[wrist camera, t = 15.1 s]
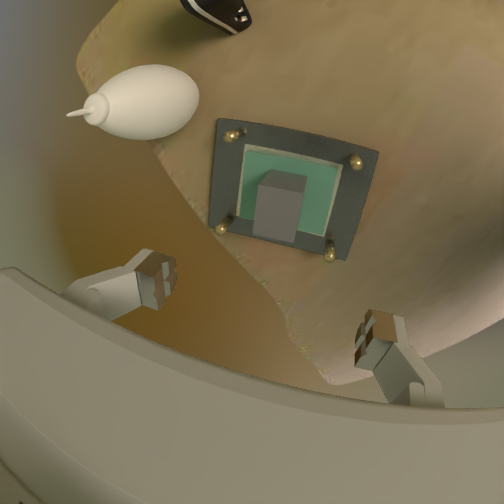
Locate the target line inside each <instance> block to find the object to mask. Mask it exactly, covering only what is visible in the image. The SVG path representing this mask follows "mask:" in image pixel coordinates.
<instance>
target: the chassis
mask: <svg viewBox="0 0 504 504" xmlns="http://www.w3.org/2000/svg"><path fill="white" fill-rule="evenodd" d="M247 150H250V151H257V152H263V153H269V154H275V155H281V156H287V157H292V158H297V159H303V160H308V161H313V162H317V163H322V164H327V165H331V166H336V167H338V171H337V176H336V180H335V185H334V190H333V194H332V198H331V203H330V207H329V211H328V216H327V220H326V224H325V228H324V232H323V235H319V234H314V233H310V232H305V231H301V230H297V231H296V235H295V239H294V243H291V242H286V241H281V240H277V239H272V238H268V237H263V236H258V235H254V234H252V233H253V225H254V220H249V219H244V218H239V214H240V203H241V193H242V182H243V172H244V161H245V152H246V151H247ZM378 154H379V152H378V151H376V150H372V149H369V148H366V147H362V146H359V145H355V144H352V143H348V142H345V141H341V140H337V139H333V138H329V137H325V136H321V135H317V134H312V133H308V132H303V131H298V130H294V129H289V128H283V127H278V126H272V125H267V124H261V123H254V122H247V121H240V120H233V119H225V118H218V124H217V133H216V143H215V153H214V164H213V175H212V187H211V200H210V214H209V227H212V228H215V233H216V234H217V235H219V236H221V235H223V234H224V233H225V232H226V231H229V232H233V233H237V234H241V235H245V236H249V237H253V238H257V239H262V240H266V241H270V242H274V243H278V244H282V245H286V246H290V247H294V248H298V249H302V250H306V251H310V252H314V253H317V254H321V255H324V259H325V261H326V262H327V263H332V262H333V261H334V260H335V258H337V259H341V260H346V258H347V255H348V252H349V249H350V247H351V244H352V241H353V238H354V235H355V232H356V229H357V226H358V223H359V220H360V217H361V214H362V210H363V207H364V204H365V201H366V197H367V194H368V191H369V187H370V184H371V180H372V177H373V173H374V170H375V166H376V162H377V158H378Z"/></svg>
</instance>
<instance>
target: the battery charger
mask: <svg viewBox="0 0 504 504" xmlns="http://www.w3.org/2000/svg"><path fill="white" fill-rule="evenodd" d="M180 2H181V3H182V5H183V6H184V8H185V9H186V10H187V11H188V12H189V13H191V14H192V15H194V16H196V17H197V18H199V19H201V20H203V21H205V22H207V23H209V24H211V25H213V26H215V27H217V28H219V29H221V30H222V31H224V32H226V33H227V34H229V35H232V34H236V33H238V32H240V31H242V30H244V29H246V28H248V27H249V26H250V25H251V23H252V20H251V17H250V14H249V12H248V10H247V7H246V5H245V3H244V1H243V0H180Z"/></svg>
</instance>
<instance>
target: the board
mask: <svg viewBox="0 0 504 504" xmlns="http://www.w3.org/2000/svg"><path fill="white" fill-rule="evenodd" d="M337 171H338V167H336V166H331V165H327V164H322V163H317V162H313V161H308V160H303V159H297V158H292V157H287V156H281V155H275V154H269V153H263V152H257V151H250V150H247V151H246V152H245V161H244V172H243V182H242V193H241V203H240V214H239V218H244V219H249V220H254V225H253V233H252V234H254V235H258V236H263V237H268V238H272V239H277V240H281V241H286V242H291V243H294V239H295V235H296V231H297V230H301V231H305V232H310V233H314V234H319V235H323V232H324V228H325V224H326V220H327V216H328V211H329V207H330V203H331V198H332V194H333V190H334V185H335V180H336V176H337Z"/></svg>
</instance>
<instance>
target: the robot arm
mask: <svg viewBox="0 0 504 504" xmlns="http://www.w3.org/2000/svg"><path fill="white" fill-rule="evenodd" d="M175 267H176V259H175V258H174V257H172V256H168V255H165V254H162V253H159V252H156V251H153V250H149V249H142V250H141V251H140V252H139V253H138V254H137V255H136V256H134V257H133V258H132V259H131V260H130V261H129V262H128V263H127V264H126V265H125V266H124V267H121V266H119V267H116V268H113V269H110V270H106V271H103V272H100V273H97V274H94V275H90V276H87V277H84V278H81V279H78V280H75V281H74V282H73V283H72V284H71V285H70V286H69V287H68V288H67V289H66V290H65V291H64V292H62V293H61V294H57V293H56V292H54V291H52V290H51V289H49V288H48V287H46V286H44V285H43V284H41V283H39V282H38V281H36V280H35V279H33V278H31V277H30V276H28V275H27V274H25V273H24V272H22V271H21V270H19V269H18V268H16V267H8V268H3V269H0V504H504V407H490V408H445V404H444V397H443V390H442V384H441V383H440V382H439V380H438V379H437V378H436V376H435V375H434V374H433V373H432V371H431V370H430V369H429V367H428V366H427V365H426V363H425V362H424V361H423V360H422V358H421V357H420V356H419V355H418V353H417V352H416V351H415V349H414V348H413V347H412V346H410V345H408V339H407V333H406V328H405V323H404V318H403V316H401V315H396V314H389V313H385V312H380V311H376V310H372V309H369V310H368V311H367V313H366V315H365V322H363V323H361V324H360V326H359V328H358V330H357V334H356V338H355V346H356V348H357V351H356V353H355V364H354V367H358V368H362V369H367V370H372V371H373V373H374V375H375V377H376V379H377V381H378V383H379V385H380V387H381V389H382V391H383V393H384V395H385V397H386V399H387V401H388V402H389V404H388V403H380V402H373V401H365V400H359V399H352V398H346V397H341V396H335V395H330V394H325V393H320V392H315V391H310V390H306V389H301V388H297V387H293V386H289V385H284V384H281V383H277V382H273V381H269V380H266V379H262V378H258V377H255V376H252V375H248V374H245V373H241V372H238V371H235V370H231V369H228V368H225V367H222V366H219V365H216V364H213V363H210V362H208V361H205V360H202V359H199V358H196V357H193V356H190V355H188V354H185V353H183V352H180V351H177V350H174V349H172V348H170V347H167V346H165V345H162V344H160V343H157V342H154V341H153V340H150V339H148V338H146V337H143V336H140V335H139V334H136V333H134V332H132V331H130V330H128V329H125V328H123V327H121V326H119V325H117V324H114V323H112V322H111V321H113V320H114V319H117V318H118V317H121V316H122V315H124V314H126V313H128V312H130V311H132V310H134V309H136V308H138V307H140V306H141V305H143V306H146V307H149V308H152V309H155V310H159V309H160V308H161V306H162V305H163V304H164V302H165V301H166V299H165V296H168V295H170V294H171V293H172V292H173V290H174V288H175V286H176V283H177V274H176V272H175V271H174V268H175Z"/></svg>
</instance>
